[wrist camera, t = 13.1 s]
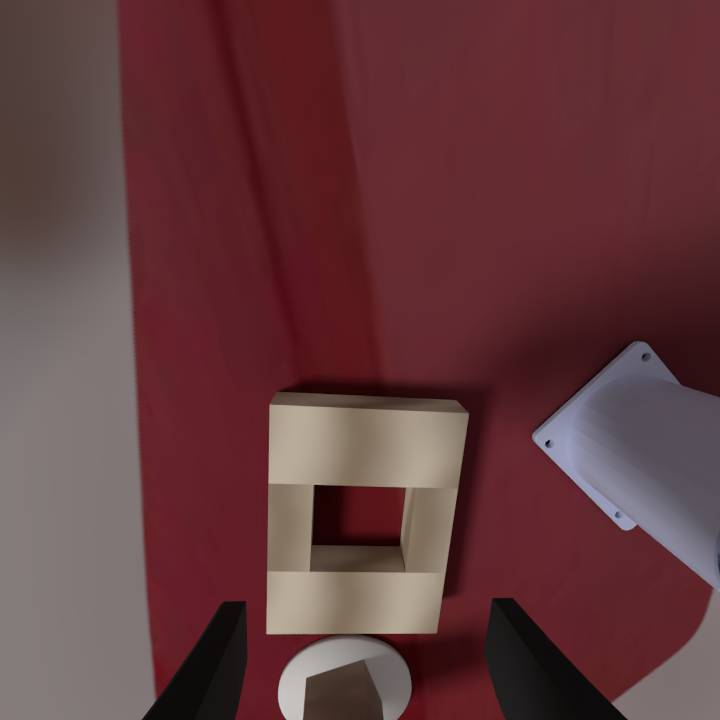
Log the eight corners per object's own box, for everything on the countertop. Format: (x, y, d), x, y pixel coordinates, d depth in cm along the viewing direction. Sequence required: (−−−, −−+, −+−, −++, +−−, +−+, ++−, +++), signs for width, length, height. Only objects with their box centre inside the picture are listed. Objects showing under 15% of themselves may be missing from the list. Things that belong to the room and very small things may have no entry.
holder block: (456, 400, 20) (469, 413, 18) (428, 603, 23) (436, 633, 21) (276, 391, 19) (269, 404, 17) (272, 602, 22) (266, 634, 20)
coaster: (436, 678, 25) (438, 685, 24) (347, 753, 26) (347, 760, 25) (342, 611, 23) (342, 617, 22) (251, 694, 24) (249, 701, 24)
